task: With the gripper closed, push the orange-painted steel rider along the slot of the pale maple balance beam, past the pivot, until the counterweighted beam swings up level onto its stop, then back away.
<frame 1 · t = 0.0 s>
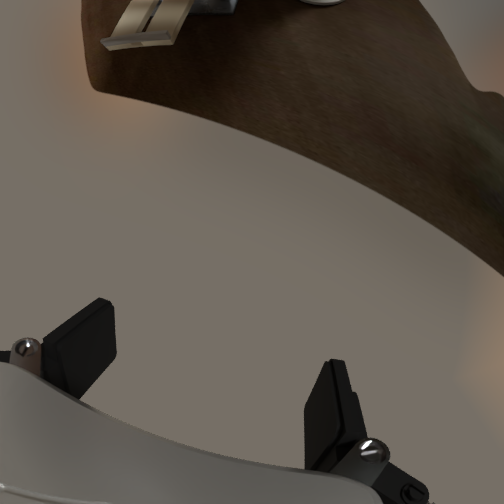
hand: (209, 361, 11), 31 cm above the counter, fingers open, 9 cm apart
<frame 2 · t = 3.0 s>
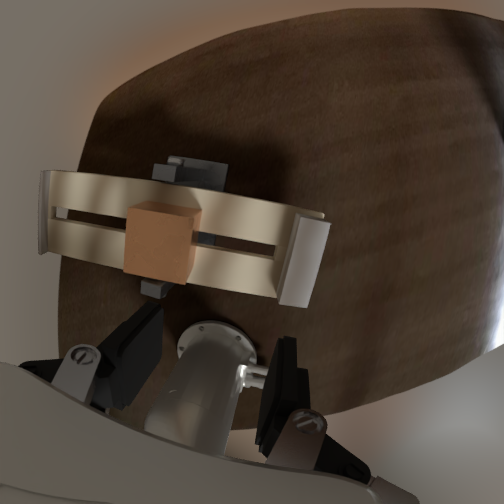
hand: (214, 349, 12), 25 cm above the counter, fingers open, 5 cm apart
beam: (160, 233, 27), point 10 cm above the counter, hinge at -9.3°, touching rider
pivot stand: (189, 219, 37), on the counter
rider: (171, 231, 29), point 8 cm above the counter, tilted 9°, touching beam
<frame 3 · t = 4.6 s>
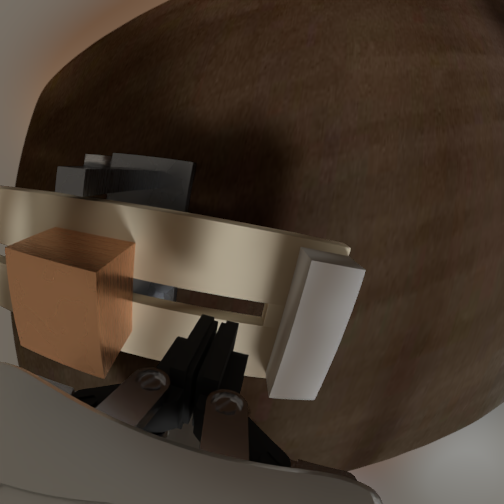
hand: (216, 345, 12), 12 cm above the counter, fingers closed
beam: (76, 281, 15), point 10 cm above the counter, hinge at -9.3°, touching rider
pivot stand: (141, 245, 24), on the counter
rider: (97, 274, 16), point 8 cm above the counter, tilted 9°, touching beam
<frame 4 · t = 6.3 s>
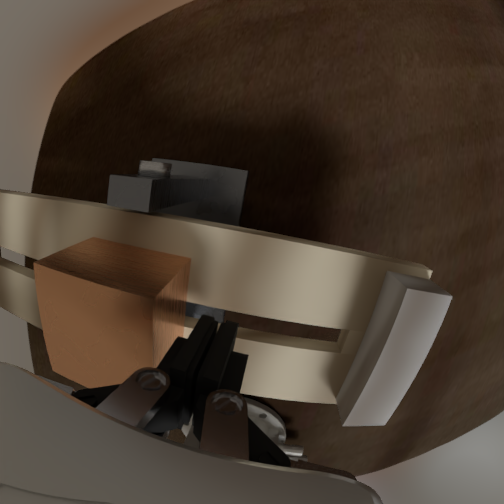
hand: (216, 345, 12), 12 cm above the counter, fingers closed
beam: (130, 306, 14), point 10 cm above the counter, hinge at -3.4°
pivot stand: (186, 258, 23), on the counter
rider: (142, 291, 16), point 8 cm above the counter, touching gripper
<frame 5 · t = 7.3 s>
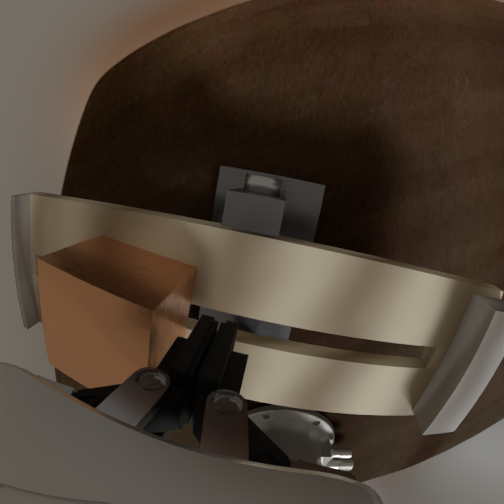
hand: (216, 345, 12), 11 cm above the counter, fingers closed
beam: (232, 334, 14), point 10 cm above the counter, hinge at 0.6°, touching rider
pivot stand: (254, 272, 23), on the counter
rider: (147, 293, 16), point 8 cm above the counter, touching beam, gripper
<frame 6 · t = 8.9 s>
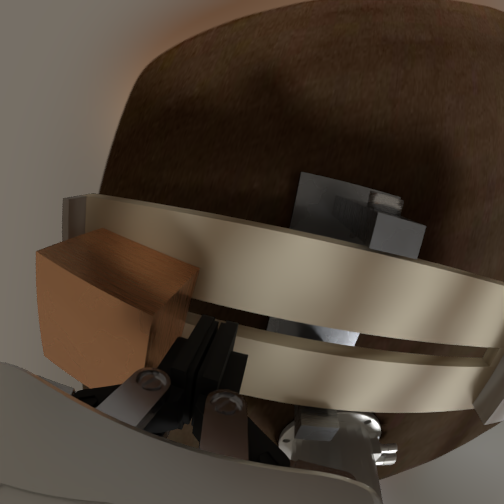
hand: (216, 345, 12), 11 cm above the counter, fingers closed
beam: (351, 351, 13), point 10 cm above the counter, hinge at 1.6°, touching rider
pivot stand: (327, 281, 22), on the counter
rider: (146, 289, 15), point 8 cm above the counter, touching beam, gripper
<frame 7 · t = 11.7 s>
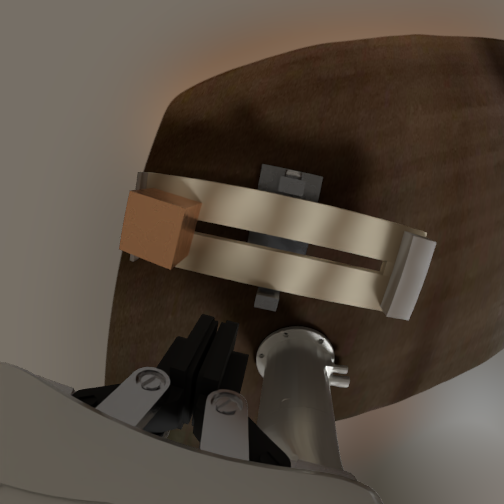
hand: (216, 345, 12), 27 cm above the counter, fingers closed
beam: (278, 246, 28), point 10 cm above the counter, hinge at 0.3°, touching rider
pivot stand: (280, 228, 38), on the counter
rider: (173, 220, 31), point 8 cm above the counter, touching beam
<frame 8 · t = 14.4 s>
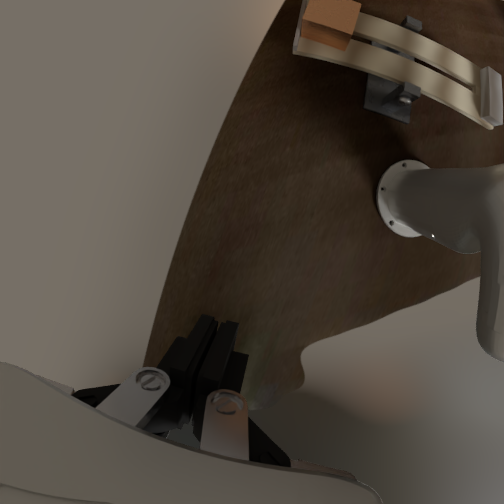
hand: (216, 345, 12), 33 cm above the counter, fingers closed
beam: (412, 54, 25), point 10 cm above the counter, hinge at 0.3°, touching rider
pivot stand: (390, 75, 35), on the counter
rider: (327, 31, 28), point 8 cm above the counter, touching beam
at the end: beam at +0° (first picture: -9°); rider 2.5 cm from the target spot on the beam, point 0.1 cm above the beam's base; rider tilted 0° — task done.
